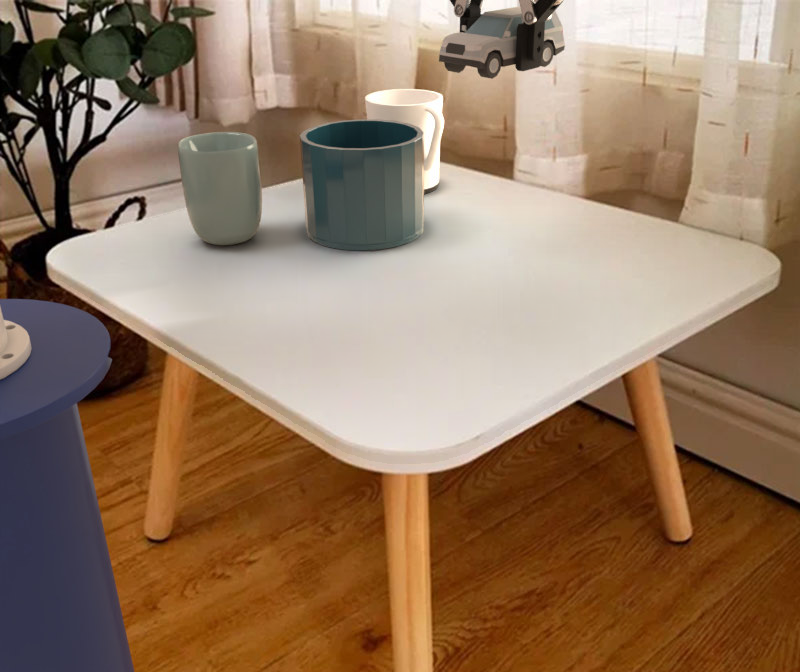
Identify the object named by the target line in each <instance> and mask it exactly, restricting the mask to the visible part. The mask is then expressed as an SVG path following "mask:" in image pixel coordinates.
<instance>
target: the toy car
mask: <svg viewBox="0 0 800 672" xmlns="http://www.w3.org/2000/svg"><path fill="white" fill-rule="evenodd" d="M481 14H482V15H481V16H480V18H479V19H478V20H477V21H476V22H475V23H474V24H473V25H472V26H471V27H470V28H469V29H468V30H466V26H465V25H462V30H463V31H465V33H463V32H460V31H459V32H454V33H451V34H448V35H446V36H445V37H444V38H443V39H442V41H441V46H440V49H439V54H438V62H439V63H443V64H444V68H445V69H446V70H447V72H452V73H458V74H460V73H462V72H463V71H464V70H465V69H466V67H471V68H475V69H476V70H477V74H478V75H479V76H480V77H481V78H486V79H491V80H492V79H495V78H496V77H497V76H498V75H499V73H500V72H501V68H505V67H509V66H513V65H514V66H515V63H516V40H517V27H518V24H521V23H524V20H523V16H522V12H521V7H520V5H519V6H513V7H508V8H507V7H506V8H502V9H501V8H500V9H496V10H488V11H484V12H483V13H481ZM563 27H564V26H563V24H562V22H561V20H560V18H559V16H558V14H557V12H556V10H555V11H554V12H553V13H552V16H551V18H550V20H548V21H545V33H544V50H543V57H542V59H541V65H540V67H542V68H546V67H548V66H549V65H550V64H551V62H552V60H553V59H554V56H558V55H559V54H560V53H562V52H563V51H565V47H566V45H565V44H566V43H565V37H564V31H563V30H564V29H563Z"/></svg>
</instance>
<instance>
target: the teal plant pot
mask: <svg viewBox="0 0 800 672" xmlns="http://www.w3.org/2000/svg"><path fill="white" fill-rule="evenodd" d="M299 144H300V158H301V159H300V160H301V161H300V162H301V174H302V187H303V188H302V190H303V203H304V217H305V219H304V220H305V227H306V234H307V237H308V238H309V239H310V240H311V241H312V242H314V243H316V244H318V245H321V246H323V247H327V248H331V249H337V250H343V251H378V250H385V249H391V248H396V247H399V246H403V245H406V244H409V243H412V242H413V241H416V240H417V239H418V238H420V237H421V235H422V234H423V232H424V224H425V194H424V132H423V131H422V130H421V129H420V128H419V127H417V126H414V125H412V124H408V123H403V122H398V121H390V120H378V119H367V118H366V119H365V118H361V119H347V120H337V121H331V122H324V123H322V124H317V125H313V126H311V127H308V128H307V129H305V130H303V131H302V132H301V133H300V135H299Z"/></svg>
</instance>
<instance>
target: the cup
mask: <svg viewBox="0 0 800 672" xmlns="http://www.w3.org/2000/svg"><path fill="white" fill-rule="evenodd" d="M177 154H178V163H179V171H180V178H181V185H182V191H183V197H184V202H185V207H186V211H187V215H188V220H189V222H190V225H191V227H192V229H193V230H194V232H195V234H196V235H197V236H198V237H199V238H200V239H201V240H202V241H204V242H205V243H208V244H211V245H214V246H233V245H238V244H242V243H245V242H247V241H249V240H250V239H252V238H253V237H254V236H255V235H256V234H257V232H258V230H259V228H260V225H261V221H262V215H263V185H262V184H263V183H262V173H261V172H262V171H261V161H260V152H259V145H258V141H257V139H256V137H255V136H253V135H252V134H249V133H245V132H238V131H217V132H207V133H206V132H205V133H200V134H194V135H190V136H187V137H184V138H182V139H181V140H179V142H178V144H177Z"/></svg>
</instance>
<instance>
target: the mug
mask: <svg viewBox="0 0 800 672" xmlns="http://www.w3.org/2000/svg"><path fill="white" fill-rule="evenodd" d="M364 101H365V102H364V103H365V111H366V119H378V120H390V121H398V122H403V123H408V124H412V125H414V126H417V127H419V128H420V129H421V130H422V131H423V132H424V195H426V194H429V193H432V192H434V191H436V190H437V189H438V186H439V184H440V164H441V163H440V162H441V158H440V157H441V140H442V136H443V132H444V128H445V118H444V115H443V105H444V96H443V94H442V93H440V92H437V91H433V90H429V89H420V88H419V89H418V88H395V89H394V88H393V89H384V90H378V91H374V92H371V93H368V94H367V95H365V96H364Z"/></svg>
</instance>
